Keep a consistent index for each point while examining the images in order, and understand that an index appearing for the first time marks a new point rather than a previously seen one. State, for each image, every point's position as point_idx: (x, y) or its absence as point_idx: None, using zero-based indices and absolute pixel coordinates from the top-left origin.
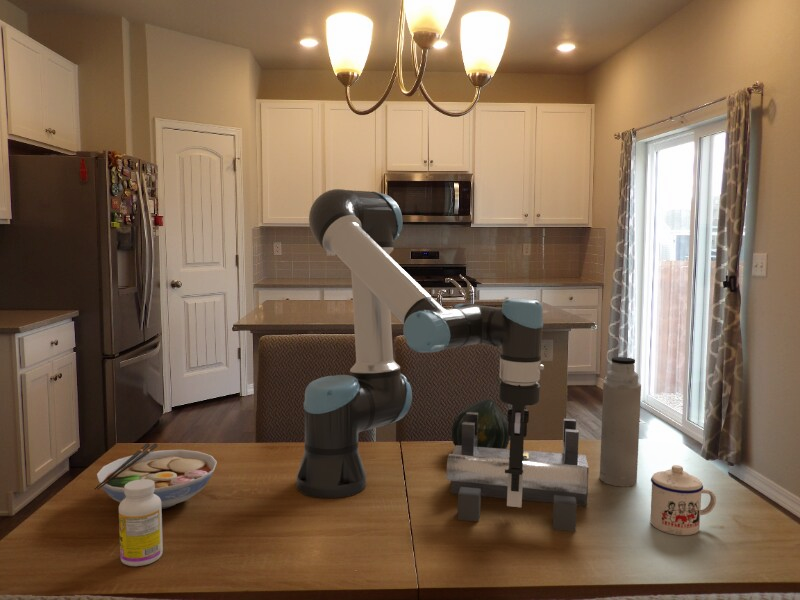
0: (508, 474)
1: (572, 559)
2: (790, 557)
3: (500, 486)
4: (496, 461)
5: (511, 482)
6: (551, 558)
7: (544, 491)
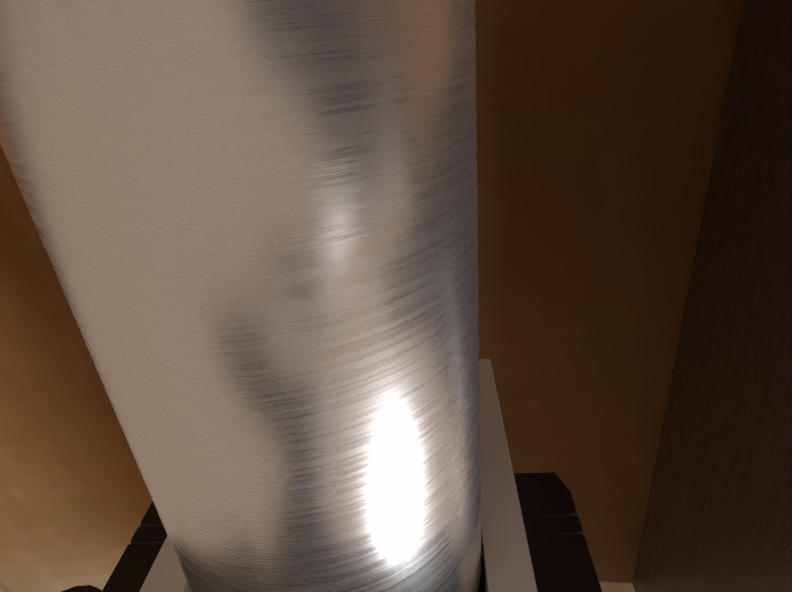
0: (148, 582)
1: (117, 534)
2: None
3: (746, 253)
4: (215, 569)
5: (123, 553)
6: (81, 479)
7: (685, 489)
